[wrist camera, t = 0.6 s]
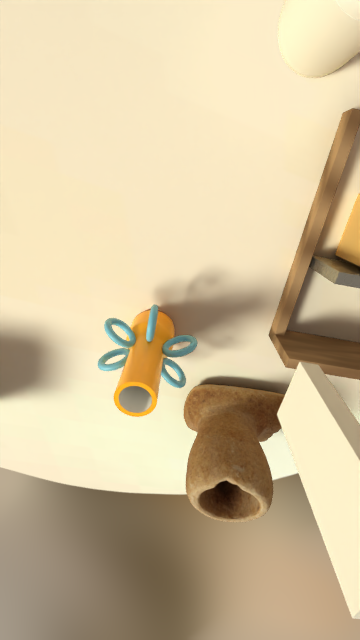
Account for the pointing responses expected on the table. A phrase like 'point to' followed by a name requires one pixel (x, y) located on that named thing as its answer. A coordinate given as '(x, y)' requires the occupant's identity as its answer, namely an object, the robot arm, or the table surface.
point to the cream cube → (351, 237)
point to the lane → (295, 345)
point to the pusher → (337, 271)
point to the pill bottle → (319, 35)
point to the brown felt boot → (230, 450)
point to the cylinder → (144, 360)
